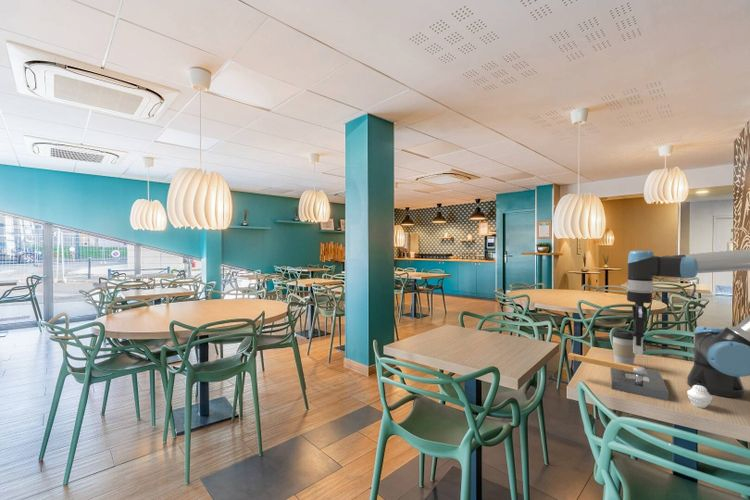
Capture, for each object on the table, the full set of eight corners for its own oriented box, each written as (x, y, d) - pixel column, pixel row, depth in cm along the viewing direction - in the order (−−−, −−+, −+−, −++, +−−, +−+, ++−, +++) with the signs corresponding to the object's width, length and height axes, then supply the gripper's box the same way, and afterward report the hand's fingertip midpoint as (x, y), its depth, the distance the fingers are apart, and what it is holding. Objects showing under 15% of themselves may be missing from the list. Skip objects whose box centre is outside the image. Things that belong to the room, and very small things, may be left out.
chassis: (658, 378, 137) (659, 361, 137) (668, 400, 117) (668, 380, 117) (610, 369, 146) (610, 353, 146) (611, 388, 126) (612, 370, 126)
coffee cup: (606, 361, 156) (607, 329, 156) (624, 361, 157) (625, 328, 157) (622, 368, 147) (623, 334, 147) (641, 368, 148) (642, 334, 148)
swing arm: (570, 356, 139) (570, 352, 139) (646, 372, 123) (646, 367, 123) (567, 359, 136) (567, 354, 136) (645, 375, 120) (645, 370, 120)
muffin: (692, 408, 112) (693, 387, 112) (682, 400, 117) (683, 380, 117) (716, 411, 110) (717, 390, 110) (705, 403, 115) (706, 382, 115)
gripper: (626, 288, 136) (624, 347, 136) (628, 292, 125) (626, 356, 126) (650, 290, 132) (648, 351, 132) (654, 294, 121) (652, 360, 121)
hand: (637, 353), depth 129 cm, fingers closed
